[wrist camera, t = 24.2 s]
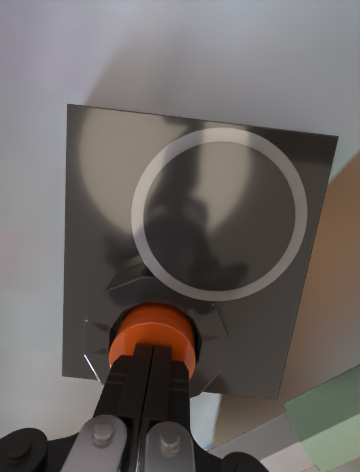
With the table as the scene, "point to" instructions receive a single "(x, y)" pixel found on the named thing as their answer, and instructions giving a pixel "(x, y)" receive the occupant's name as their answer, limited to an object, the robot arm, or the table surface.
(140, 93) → the table surface
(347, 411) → the green and grey stick
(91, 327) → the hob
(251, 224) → the burner ring
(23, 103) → the table surface
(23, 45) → the table surface
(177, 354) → the button
